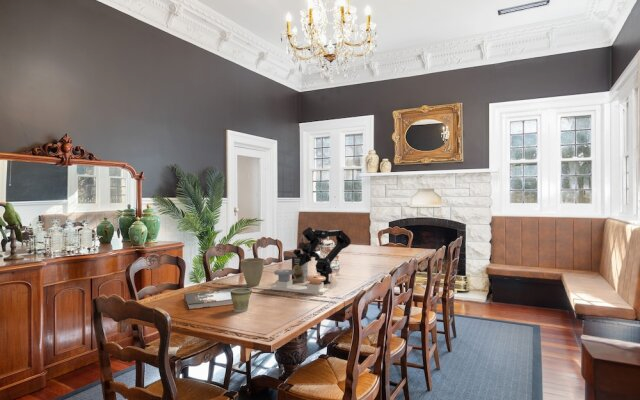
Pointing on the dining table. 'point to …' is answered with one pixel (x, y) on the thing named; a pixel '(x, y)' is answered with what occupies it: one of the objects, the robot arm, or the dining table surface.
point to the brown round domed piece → (315, 279)
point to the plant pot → (252, 270)
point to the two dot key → (284, 274)
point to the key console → (300, 287)
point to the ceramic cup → (240, 299)
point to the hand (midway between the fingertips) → (299, 265)
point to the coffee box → (299, 270)
